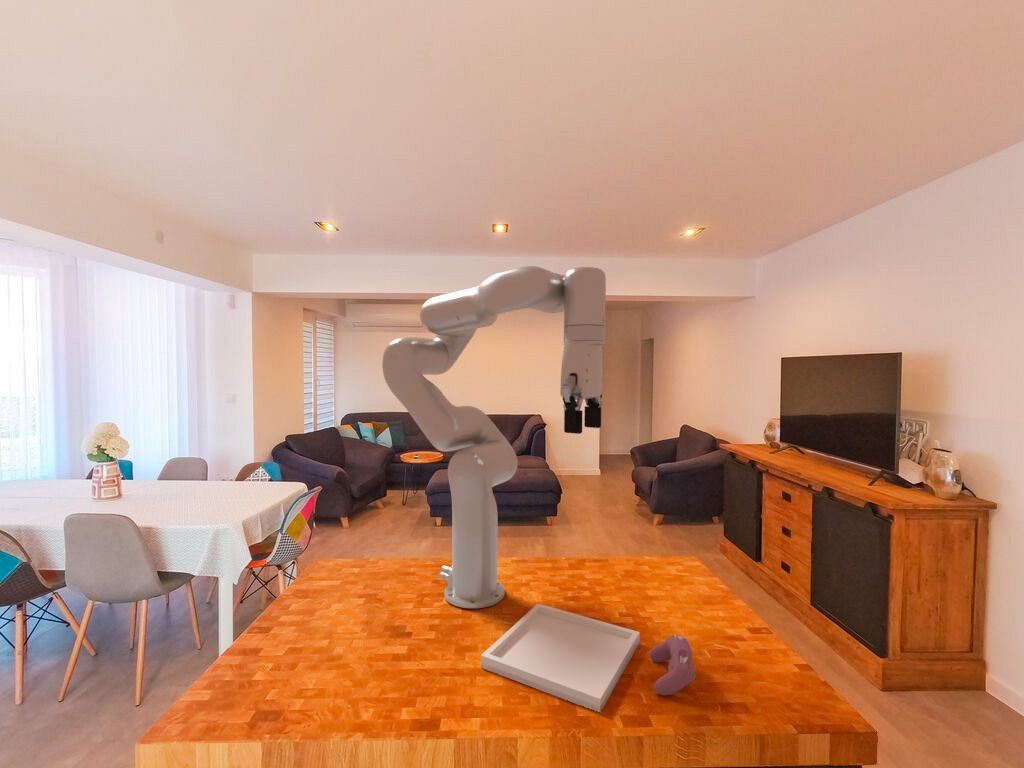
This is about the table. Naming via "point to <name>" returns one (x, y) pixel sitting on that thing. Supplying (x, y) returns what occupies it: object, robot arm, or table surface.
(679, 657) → the video game controller
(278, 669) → the table surface
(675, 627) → the table surface
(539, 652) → the tray
